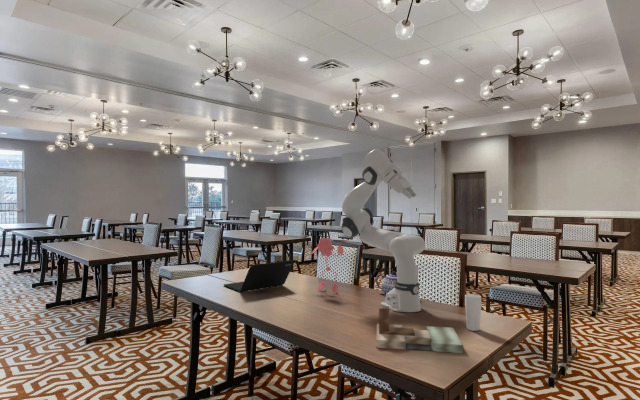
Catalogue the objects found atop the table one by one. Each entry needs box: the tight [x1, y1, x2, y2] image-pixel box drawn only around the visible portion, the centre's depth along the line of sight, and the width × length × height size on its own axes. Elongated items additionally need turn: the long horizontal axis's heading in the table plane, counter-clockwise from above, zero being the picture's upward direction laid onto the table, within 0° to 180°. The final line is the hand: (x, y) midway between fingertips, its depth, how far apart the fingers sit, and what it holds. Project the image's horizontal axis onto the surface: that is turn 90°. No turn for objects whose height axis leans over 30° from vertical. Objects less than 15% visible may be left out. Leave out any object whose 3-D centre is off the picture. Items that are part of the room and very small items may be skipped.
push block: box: [378, 305, 415, 336], centre depth 153 cm, size 14×6×10 cm, turn 81°
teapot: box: [375, 270, 397, 295], centre depth 228 cm, size 25×15×15 cm, turn 48°
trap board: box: [375, 323, 464, 354], centre depth 152 cm, size 32×20×3 cm, turn 81°
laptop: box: [223, 259, 296, 293], centre depth 247 cm, size 33×38×19 cm
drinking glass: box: [464, 293, 482, 332], centre depth 166 cm, size 7×7×15 cm
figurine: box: [311, 236, 345, 295], centre depth 233 cm, size 15×26×35 cm, turn 51°
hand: (412, 196), depth 175 cm, fingers open, 8 cm apart
